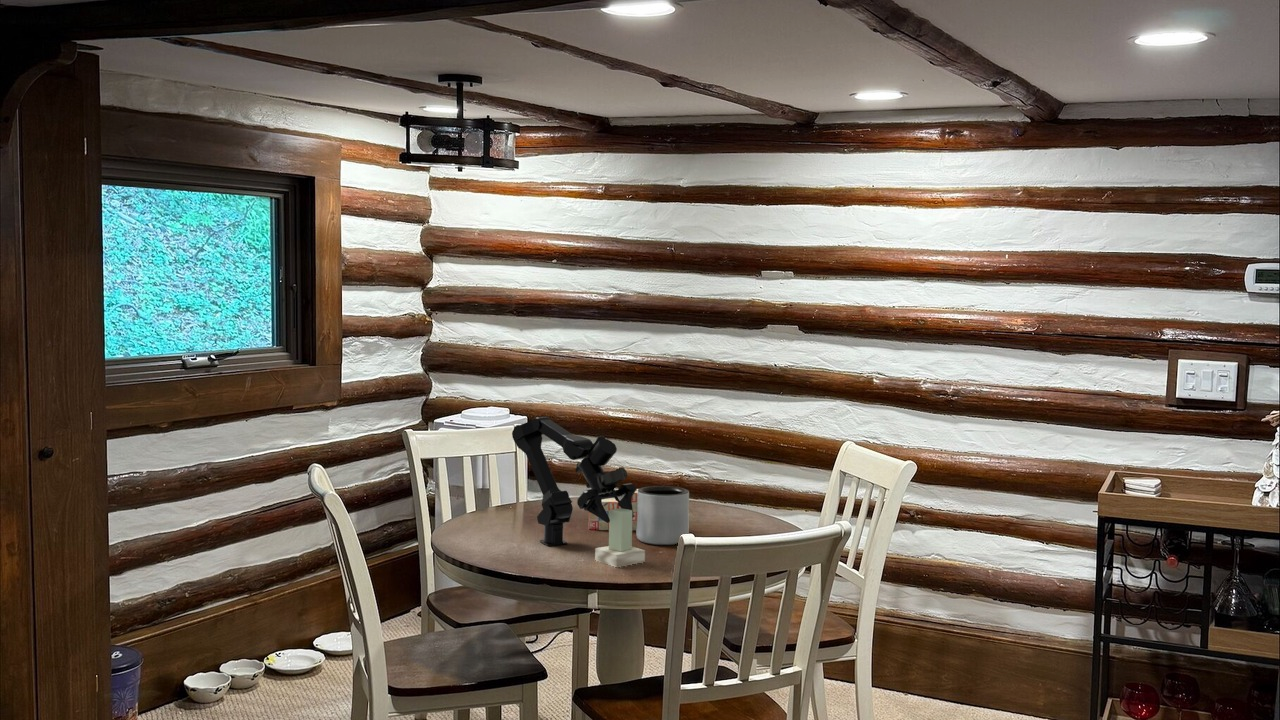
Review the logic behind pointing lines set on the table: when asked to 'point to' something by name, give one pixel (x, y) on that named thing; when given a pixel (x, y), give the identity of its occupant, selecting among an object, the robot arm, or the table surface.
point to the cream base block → (619, 556)
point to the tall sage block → (620, 529)
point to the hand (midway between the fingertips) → (620, 519)
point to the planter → (662, 514)
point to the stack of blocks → (608, 505)
